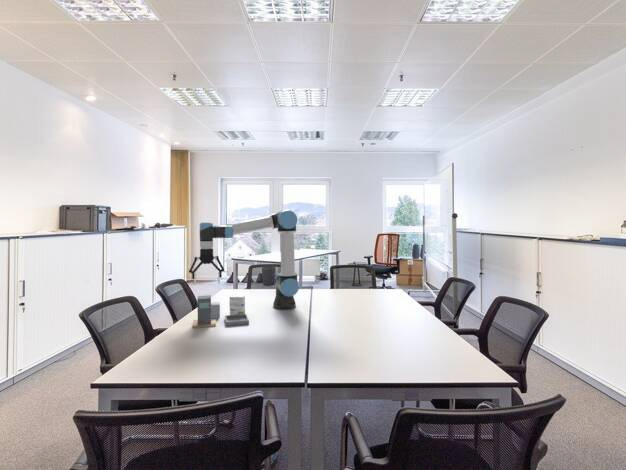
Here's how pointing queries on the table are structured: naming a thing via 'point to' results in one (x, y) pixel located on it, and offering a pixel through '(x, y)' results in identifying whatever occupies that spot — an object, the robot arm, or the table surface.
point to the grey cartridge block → (215, 310)
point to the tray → (236, 320)
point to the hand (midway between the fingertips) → (207, 283)
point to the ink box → (237, 305)
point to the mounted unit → (204, 313)
